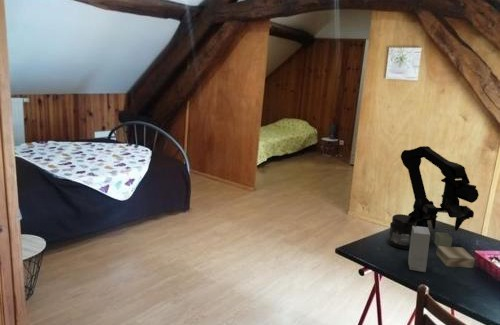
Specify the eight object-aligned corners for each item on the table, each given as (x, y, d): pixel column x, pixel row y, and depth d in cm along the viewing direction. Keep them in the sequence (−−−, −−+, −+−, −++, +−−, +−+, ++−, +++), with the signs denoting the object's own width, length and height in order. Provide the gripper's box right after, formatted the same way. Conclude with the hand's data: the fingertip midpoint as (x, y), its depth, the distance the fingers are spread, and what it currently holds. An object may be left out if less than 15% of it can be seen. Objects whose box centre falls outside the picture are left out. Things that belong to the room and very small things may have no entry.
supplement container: (399, 237, 176) (403, 212, 173) (419, 247, 167) (423, 220, 164) (382, 241, 171) (385, 215, 169) (401, 252, 162) (405, 224, 160)
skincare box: (425, 272, 146) (431, 235, 143) (408, 269, 148) (413, 232, 144) (423, 262, 154) (429, 226, 150) (406, 259, 156) (412, 224, 152)
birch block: (446, 267, 152) (448, 257, 151) (435, 255, 162) (437, 245, 161) (473, 268, 152) (474, 259, 151) (460, 256, 162) (462, 247, 161)
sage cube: (438, 247, 168) (440, 236, 167) (433, 242, 173) (435, 232, 172) (450, 248, 168) (452, 237, 167) (445, 243, 173) (447, 233, 171)
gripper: (435, 199, 158) (429, 236, 161) (483, 202, 157) (476, 239, 160) (425, 191, 169) (419, 225, 172) (470, 193, 168) (463, 228, 171)
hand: (444, 229), depth 169 cm, fingers open, 9 cm apart
